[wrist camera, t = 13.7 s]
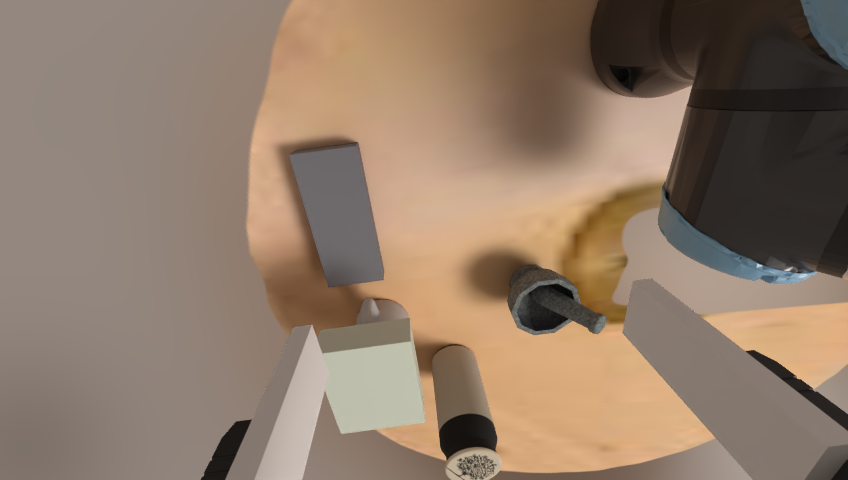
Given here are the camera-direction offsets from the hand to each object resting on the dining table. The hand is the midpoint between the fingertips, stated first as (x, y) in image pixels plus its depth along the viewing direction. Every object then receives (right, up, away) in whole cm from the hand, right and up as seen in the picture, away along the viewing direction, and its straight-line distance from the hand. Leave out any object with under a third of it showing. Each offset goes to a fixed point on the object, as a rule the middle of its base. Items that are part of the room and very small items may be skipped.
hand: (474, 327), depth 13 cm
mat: (-13, +7, +31) cm, 34 cm away
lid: (-8, -13, +29) cm, 33 cm away
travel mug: (+3, -18, +45) cm, 48 cm away
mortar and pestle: (+15, -3, +38) cm, 41 cm away
